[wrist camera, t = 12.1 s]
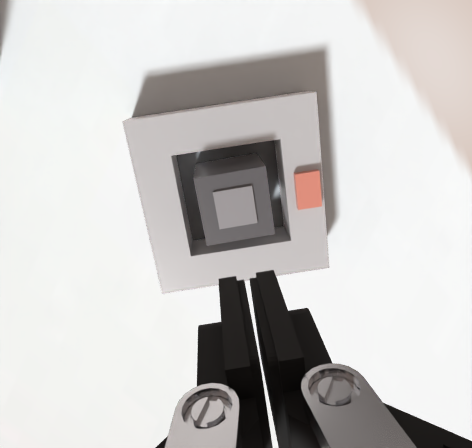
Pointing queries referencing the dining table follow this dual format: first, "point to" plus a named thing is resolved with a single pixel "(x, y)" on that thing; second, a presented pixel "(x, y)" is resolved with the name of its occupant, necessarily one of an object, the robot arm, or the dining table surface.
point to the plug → (233, 199)
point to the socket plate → (220, 136)
